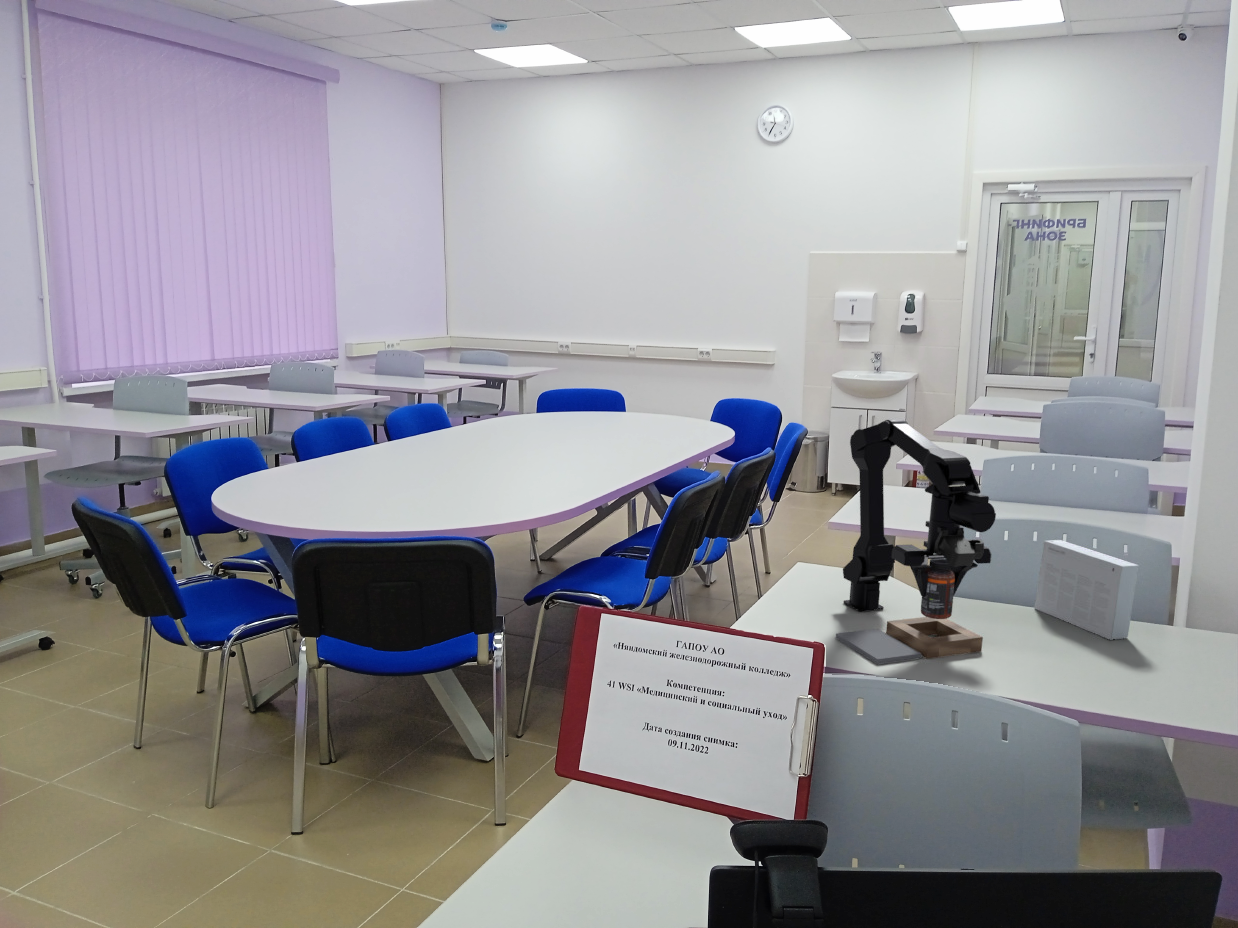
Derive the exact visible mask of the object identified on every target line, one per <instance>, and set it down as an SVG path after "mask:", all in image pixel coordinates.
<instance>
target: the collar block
mask: <svg viewBox="0 0 1238 928" xmlns="http://www.w3.org/2000/svg"><path fill="white" fill-rule="evenodd" d="M885 628H886V629H885V630H886V631H885V633H886V634H888V635H890V636H892V637H893V638H895V639H897V640H899V641H900V642H902V643H904V644H906V645H907V646H909V647H911V648H913V649H914V650H916V651H918V652H920V653H921V657H923V658H925V659H928V660H929V659H936V658H944V657H951V656H957V655H958V656H959V655H966V654H973V653H974V654H975V653H980V652H982V649H983V648H982V647H983V641H984V640H983V639H984V637H983V636H981V635H980V634H977V633H976V632H973V631H972V630H970V629H967V628H966V627H963V626H962V625H959V624H957V623H956V622H954V621H951V620H950V619H949V618H947V619H933V618H929V617H926V616H922V617H920V616H919V617H913V618H912V617H911V618H903V619H896V620H895V619H894V620H886V627H885ZM935 635H936V636H935ZM930 636H932V637H930ZM933 636H934V637H933Z"/></svg>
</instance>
